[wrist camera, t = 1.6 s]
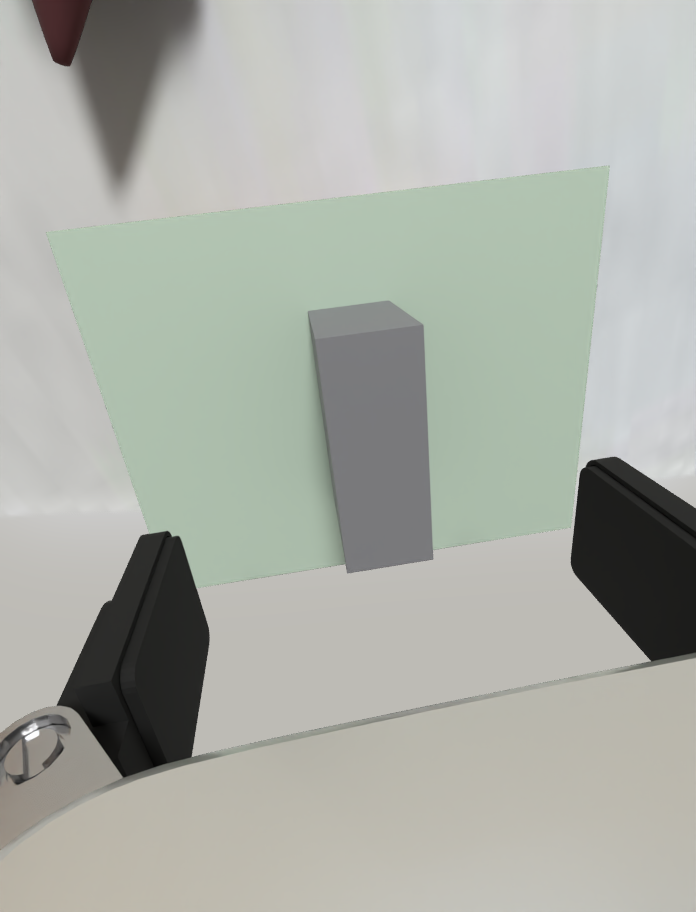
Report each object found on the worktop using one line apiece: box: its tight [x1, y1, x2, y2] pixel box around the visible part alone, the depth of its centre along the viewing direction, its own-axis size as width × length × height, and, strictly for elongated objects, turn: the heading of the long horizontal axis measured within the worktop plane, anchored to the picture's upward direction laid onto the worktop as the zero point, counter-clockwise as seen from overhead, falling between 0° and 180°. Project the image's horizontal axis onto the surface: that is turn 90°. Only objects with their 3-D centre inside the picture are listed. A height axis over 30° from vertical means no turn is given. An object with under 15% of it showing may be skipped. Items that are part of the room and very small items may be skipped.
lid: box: [46, 166, 610, 588], centre depth 18 cm, size 19×15×7 cm
